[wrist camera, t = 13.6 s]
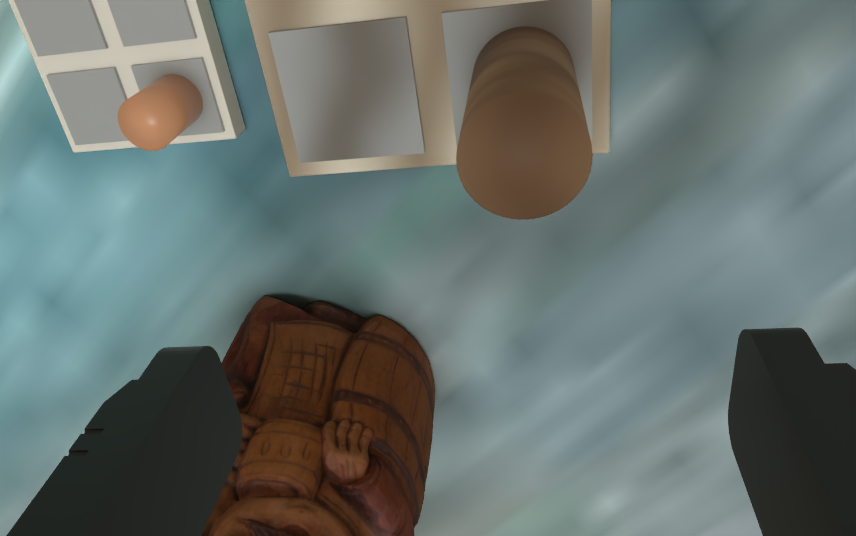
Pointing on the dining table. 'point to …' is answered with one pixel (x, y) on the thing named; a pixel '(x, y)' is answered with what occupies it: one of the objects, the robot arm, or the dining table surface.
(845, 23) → the dining table surface
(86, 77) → the key plate
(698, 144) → the dining table surface
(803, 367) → the robot arm
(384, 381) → the wooden figurine
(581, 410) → the dining table surface
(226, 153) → the dining table surface
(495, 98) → the walnut pin
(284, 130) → the board
